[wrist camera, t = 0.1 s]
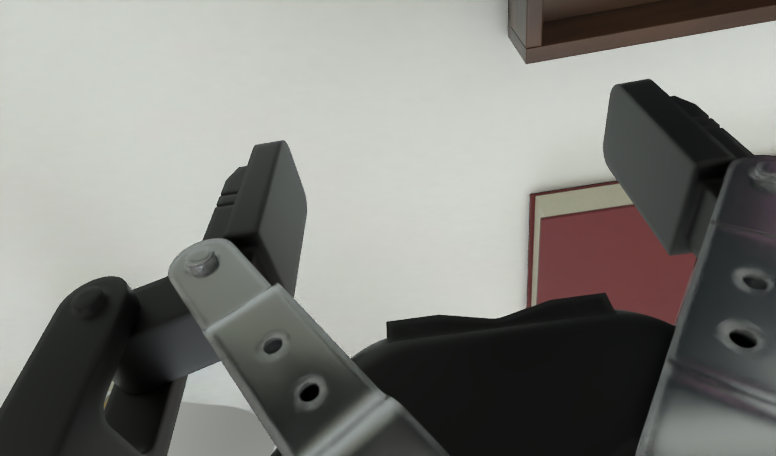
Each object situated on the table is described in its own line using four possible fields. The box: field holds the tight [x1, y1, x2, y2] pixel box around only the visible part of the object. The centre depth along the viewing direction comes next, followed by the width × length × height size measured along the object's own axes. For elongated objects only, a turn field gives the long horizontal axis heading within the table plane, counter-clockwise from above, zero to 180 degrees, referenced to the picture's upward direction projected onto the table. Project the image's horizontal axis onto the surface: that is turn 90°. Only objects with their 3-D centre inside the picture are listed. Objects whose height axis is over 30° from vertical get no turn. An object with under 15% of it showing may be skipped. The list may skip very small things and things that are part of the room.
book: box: [527, 181, 696, 325], centre depth 37 cm, size 14×19×3 cm
